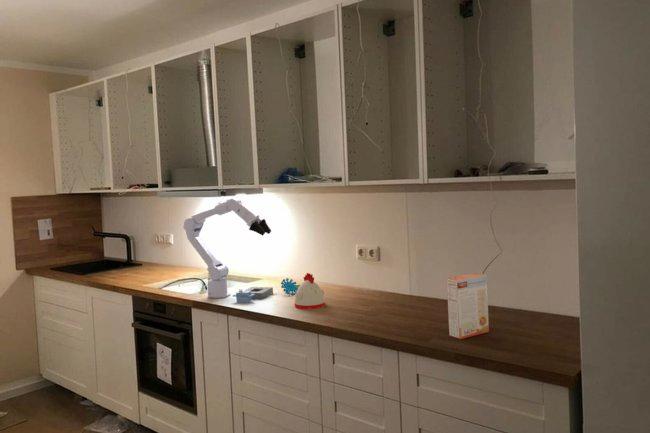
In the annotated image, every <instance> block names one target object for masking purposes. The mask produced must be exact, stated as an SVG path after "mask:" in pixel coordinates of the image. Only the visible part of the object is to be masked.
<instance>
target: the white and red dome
mask: <svg viewBox="0 0 650 433" xmlns="http://www.w3.org/2000/svg"><path fill="white" fill-rule="evenodd" d="M313 275H314V274H311V273H309V272H306V274H304V277H303V282H302V283H301V284H299V285H300V287H298V290H297V292H294V297H295V298H294V308H296V309H300V310H314V309H320V308H323V307H325V306H326V300H325V293H324V289H323V288H321V287H320V286H319V285H318V284H317V282H315V277H313Z"/></svg>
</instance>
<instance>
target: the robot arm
mask: <svg viewBox="0 0 650 433" xmlns="http://www.w3.org/2000/svg"><path fill="white" fill-rule="evenodd" d="M232 211H233V212H234V213H235V214H236V215H237V216H238V217H239V218H240V219H242V221H244V222H245V223H246V225H247V226H248V227H249V228H248V230H249V231H253V232H255V233H257V234H259V235H261V236H264V235H265V234H268V235H269V234H270V233H271V232H272V230H271V228H270V227H269V225H268V223H267V222H266V221H267V220H266V219H265V218H263V219H261V218H260V215H259V214H257V215H256V214H255V213H253V212H252V211H251V210H250V209H248V207H246V206H245V205H244V204H243V202H242V201H241V199H239V198H230V199H225V201H222V202H217V204H215V206H214V207H213V208H211V209H208V210H205V211H202V212H199V213H196V214H194V215H192V216H190V217H188V218H186V219H184V222H183V227H182V228H183V229H184V230H185V234H186V239H187V240H188V242H189V243H190V244H191V245H192V247H193V249H195V251H196V252H197V254H198V255H199V256H200V257H201V259H202V260H203V262H204V263H205V264H206V266H207V272H208V274H209V277H210V278H211V279H209V280H208V281H207V284H206V286H207V298H214V299H215V298H216V299H217V298H218V299H219V298H220V299H224V298H227V297H229V296H230V295H231V293H228V279H227V278H228V277H227V276H228V274H229V268H228V266H226V265H225V264H224V263H222V261H220V260H218V259H217V258H216V257H215V256H214V254H213V253H212V251H211V250H210V249H209V247H207V245H206V244H205V243H204V241H203V240H202V239H201V237H200V233H201V230H202V229H203V226H204V223H205V222H206V219H208V218H210V217H213V216H215V215H217V216H222V215H225V214H227V213H230V212H232Z"/></svg>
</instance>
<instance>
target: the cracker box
mask: <svg viewBox="0 0 650 433" xmlns="http://www.w3.org/2000/svg"><path fill="white" fill-rule="evenodd" d="M446 291H447V292H446V293H447V311H448V313H447V314H448V333H449V337H453V338H455V339H459V340H463V339H468V338H470V337H471V338H472V337H475V336H479V335H483V334H487V333H489V332H490V328H489V327H490V325H489V303H488V302H489V300H488V297H489V296H488V275H487V274H482V273H478V272H476V273H475V272H474V273H469V274H464V275H457V276H451V277H447V278H446Z"/></svg>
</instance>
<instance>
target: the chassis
mask: <svg viewBox="0 0 650 433" xmlns="http://www.w3.org/2000/svg"><path fill="white" fill-rule="evenodd" d="M243 291H251V294H255V295H254V296H252V297H251V300H263V299H265V298H267V297H269V296H271V295H272V294H274V288H273V287H267V286H266V287H265V286H258V287H257V286H252V287H249V288H247V289H245V290H243Z"/></svg>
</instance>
